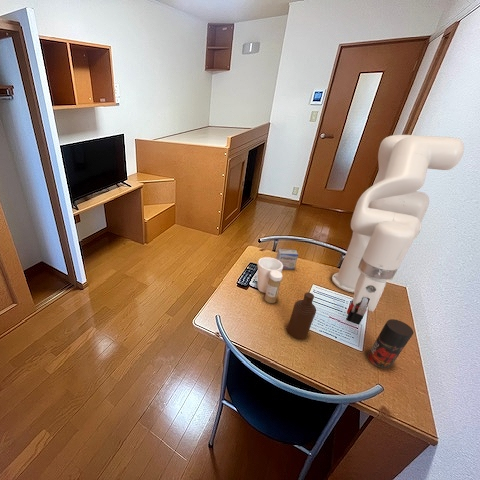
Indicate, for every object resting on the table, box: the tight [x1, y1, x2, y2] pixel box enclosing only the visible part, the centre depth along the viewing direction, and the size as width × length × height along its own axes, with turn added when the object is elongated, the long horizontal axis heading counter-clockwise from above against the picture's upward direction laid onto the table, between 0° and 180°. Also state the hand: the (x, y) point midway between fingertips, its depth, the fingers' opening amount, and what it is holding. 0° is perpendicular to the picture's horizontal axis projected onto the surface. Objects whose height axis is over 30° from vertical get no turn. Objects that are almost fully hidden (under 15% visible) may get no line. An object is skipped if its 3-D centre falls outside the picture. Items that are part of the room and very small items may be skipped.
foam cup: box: [256, 256, 284, 294], centre depth 108 cm, size 10×9×13 cm
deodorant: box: [367, 318, 414, 370], centre depth 77 cm, size 6×6×15 cm
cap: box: [346, 302, 367, 315], centre depth 76 cm, size 4×4×3 cm
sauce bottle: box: [286, 291, 317, 341], centre depth 87 cm, size 6×6×18 cm
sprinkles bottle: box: [263, 271, 283, 304], centre depth 102 cm, size 5×5×13 cm
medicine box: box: [275, 248, 299, 270], centre depth 121 cm, size 8×4×9 cm, turn 81°
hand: (353, 316), depth 77 cm, fingers closed on cap, 3 cm apart
